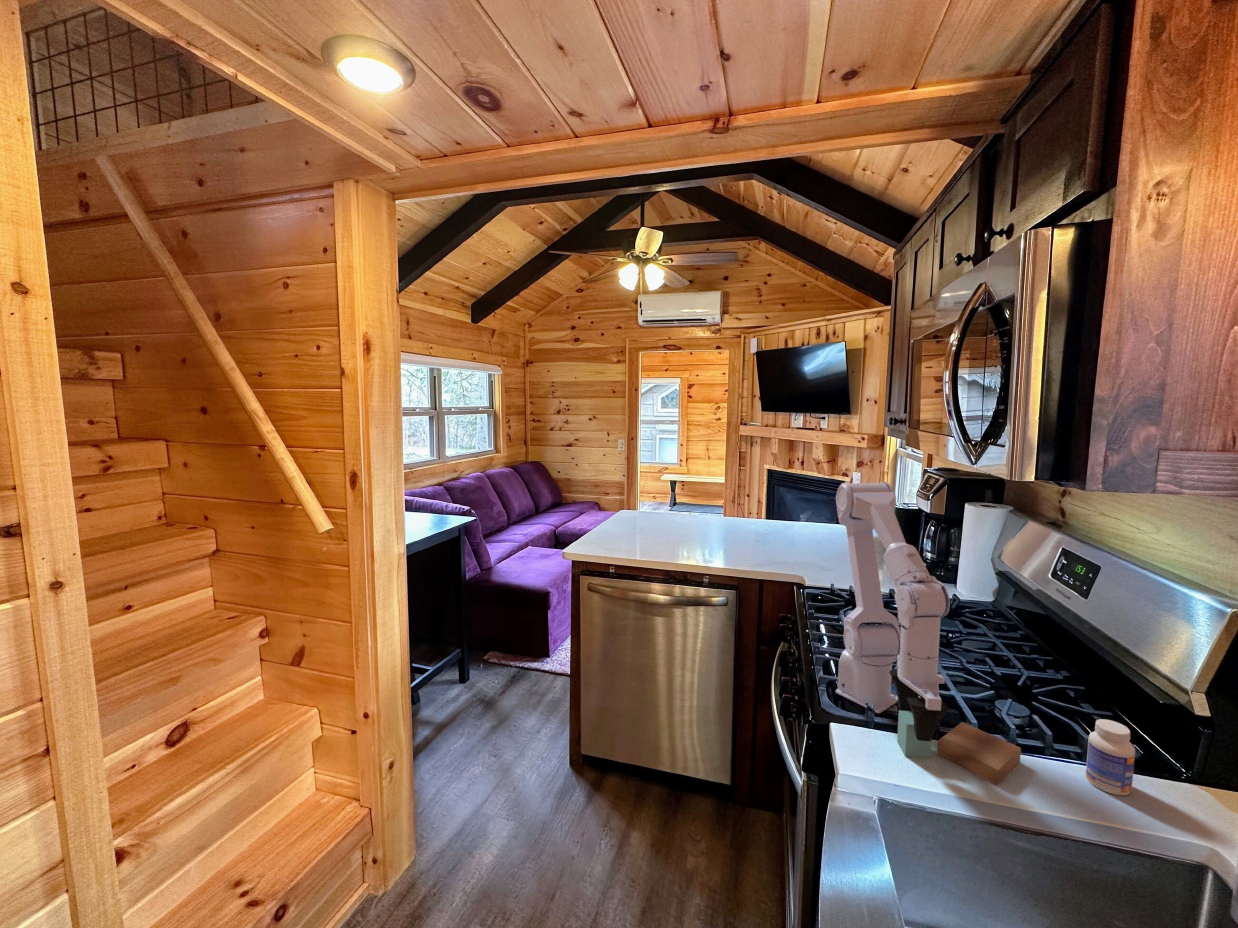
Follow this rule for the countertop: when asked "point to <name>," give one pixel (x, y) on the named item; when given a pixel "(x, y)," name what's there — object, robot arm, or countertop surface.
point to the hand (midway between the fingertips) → (915, 725)
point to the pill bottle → (1110, 758)
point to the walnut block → (979, 752)
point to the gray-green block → (911, 738)
